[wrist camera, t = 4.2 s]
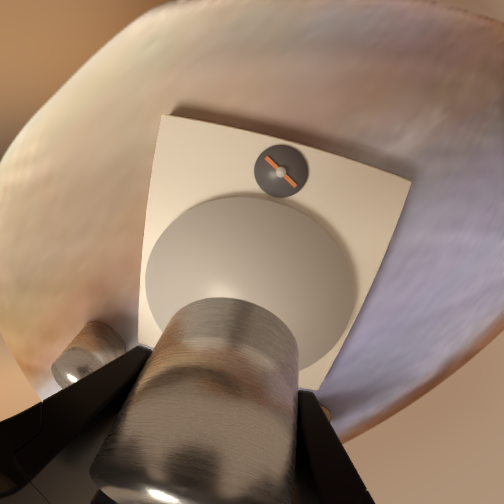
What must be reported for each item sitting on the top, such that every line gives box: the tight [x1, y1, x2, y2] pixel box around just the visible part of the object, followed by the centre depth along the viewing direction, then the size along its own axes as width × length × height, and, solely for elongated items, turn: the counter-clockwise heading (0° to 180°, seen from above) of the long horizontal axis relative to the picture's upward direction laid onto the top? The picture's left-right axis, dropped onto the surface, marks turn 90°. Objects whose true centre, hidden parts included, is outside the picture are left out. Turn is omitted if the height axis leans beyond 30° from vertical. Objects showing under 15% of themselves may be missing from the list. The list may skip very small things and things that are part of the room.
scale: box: [138, 115, 412, 391], centre depth 18 cm, size 15×13×2 cm
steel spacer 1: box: [51, 322, 126, 389], centre depth 21 cm, size 4×4×5 cm
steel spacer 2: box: [89, 297, 299, 504], centre depth 7 cm, size 4×4×5 cm
